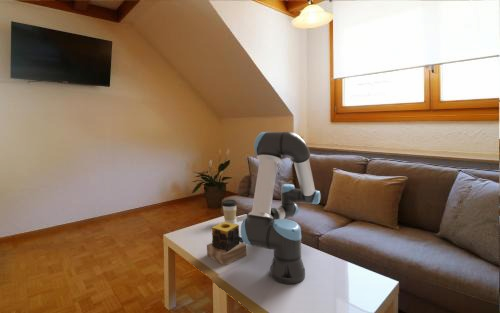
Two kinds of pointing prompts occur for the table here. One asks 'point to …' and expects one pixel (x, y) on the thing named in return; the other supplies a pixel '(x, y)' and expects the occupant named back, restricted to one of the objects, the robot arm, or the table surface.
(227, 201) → the coffee cup
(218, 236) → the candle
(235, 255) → the wooden box
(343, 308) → the table surface
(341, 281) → the table surface
